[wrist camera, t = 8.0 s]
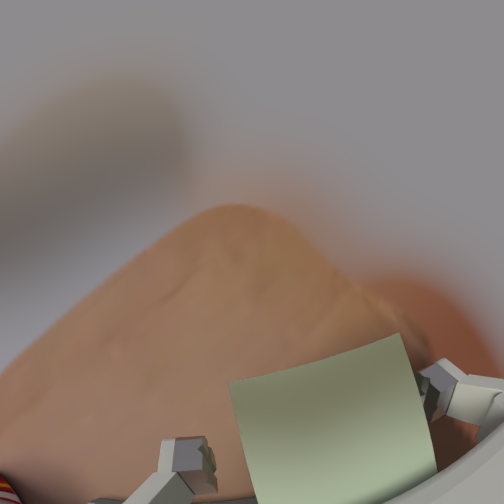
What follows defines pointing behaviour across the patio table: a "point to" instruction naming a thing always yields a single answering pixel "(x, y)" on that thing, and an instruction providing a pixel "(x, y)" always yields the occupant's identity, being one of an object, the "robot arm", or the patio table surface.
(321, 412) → the column block
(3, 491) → the soda can
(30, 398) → the patio table surface
